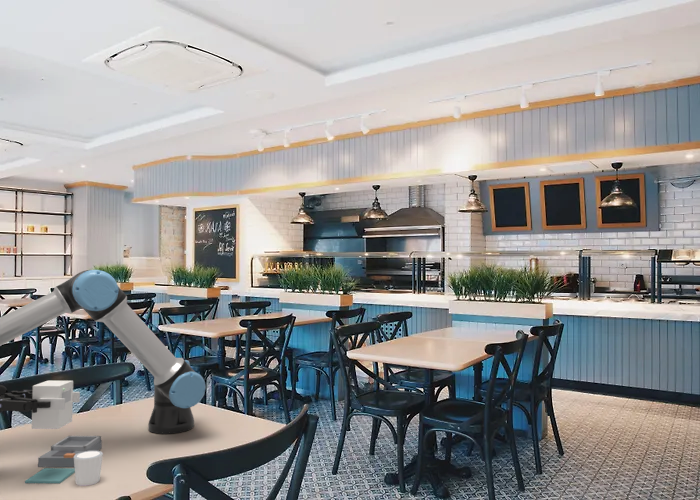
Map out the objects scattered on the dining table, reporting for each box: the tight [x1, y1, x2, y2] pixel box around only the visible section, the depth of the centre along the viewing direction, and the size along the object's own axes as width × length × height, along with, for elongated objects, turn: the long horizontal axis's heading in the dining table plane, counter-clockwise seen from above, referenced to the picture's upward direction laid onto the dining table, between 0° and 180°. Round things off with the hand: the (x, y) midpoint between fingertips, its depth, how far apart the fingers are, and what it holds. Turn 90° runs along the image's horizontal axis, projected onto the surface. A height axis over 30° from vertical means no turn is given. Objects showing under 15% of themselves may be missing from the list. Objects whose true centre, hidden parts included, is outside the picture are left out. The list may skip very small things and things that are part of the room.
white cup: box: [73, 450, 104, 487], centre depth 143 cm, size 7×7×7 cm
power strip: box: [37, 435, 103, 468], centre depth 166 cm, size 10×24×4 cm, turn 0°
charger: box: [31, 380, 74, 430], centre depth 147 cm, size 8×7×11 cm
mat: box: [24, 467, 75, 484], centre depth 146 cm, size 9×9×1 cm
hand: (71, 400), depth 147 cm, fingers closed on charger, 7 cm apart
